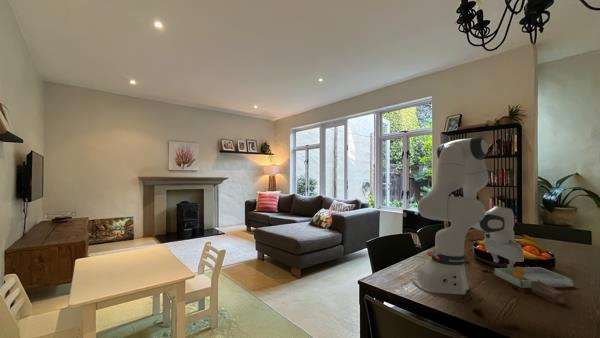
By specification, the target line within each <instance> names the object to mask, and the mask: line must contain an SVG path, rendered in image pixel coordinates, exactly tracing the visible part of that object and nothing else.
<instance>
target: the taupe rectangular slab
mask: <svg viewBox="0 0 600 338" xmlns="http://www.w3.org/2000/svg"><path fill="white" fill-rule="evenodd" d="M530 289H531V293H533V294H536V295H537V296H539V297H541V298H543V299H545V300H546V301H549V302H551V303H553V304H564V302H565V301H564V300H565V299H564V297H565V296H564V295H565V294H564V292H562V291H560V290H558V289H556V288H555V287H550V286H548V285H546V284H544V283H542V282H531V288H530Z"/></svg>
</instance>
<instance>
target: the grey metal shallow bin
mask: <svg viewBox="0 0 600 338" xmlns="http://www.w3.org/2000/svg"><path fill="white" fill-rule="evenodd" d="M521 267H522V268H524V270H525V274H524V275H523V279H524V280H538V281H539V282H542V283H544V284H546V285H548V286H550V287H552V288H571V287H574V279H573V278H570V277H568V276H565V275H562V274H559V273H557V272H555V271H551V270H549V269H546V268H543V267H541V266H537V267H529V266H525V267H523V266H521ZM514 268H515V267H513V268H511V274H512V273H513V272H515V271H514Z"/></svg>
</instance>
